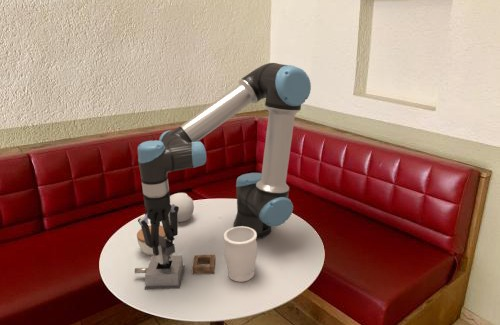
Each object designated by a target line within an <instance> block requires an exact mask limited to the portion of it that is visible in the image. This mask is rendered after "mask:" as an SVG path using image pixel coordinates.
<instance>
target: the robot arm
mask: <svg viewBox="0 0 500 325" xmlns="http://www.w3.org/2000/svg"><path fill="white" fill-rule="evenodd" d="M311 84H312V83H311V79H310V77H309V75H308V74H307V72H306V71H304V69H302V68H301V67H297V66H295V65H291V64H289V65H288V64H281V63H275V62H270V63H265V64H263V65H260V66H258V67H257V68H255V69H254V70H252V71H250V72H249V73H247V74H246V75H244V76H243V77H242V78H241V79H239V81H238V84H237V85H236V86H235V87H234V86H233V88H232V89H231V90H228V92H225V93H224V94H223V95H222V96H220V97H218V99H216V100H215V101H214V102H212V103H210V104H209V105H208V106H206V107H205V108H203V109H202V110H200V111H199V112H198V113H197V114H195V115H194V116H192V117H191V118H190V119H188V120H187V121H185V122H183V124H181V125H180V126H178V127H177V128H175V129H174V130H166V131H164V132H162V133H161V135H160V136H159V139H158V140H146V141H143V142H141V143H140V144H138V146H137V157H138V158H137V162H138V167H139V172H140V173H139V174H140V180H141V186H142V194H143V201H144V202H143V203H144V208H145V212H144V216H143V217H141V218H138V219H137V222H138V223H139V225H140V228H141V229H142V232H143V236H144V240H145V243H146V245H147V246H149V247H150V248H153V254H154V255H155V256H156V261H157V262H158V263H160V264H163V256H162V249H161V245H159V226H160V225H161V226H163V229H164V232H165V236H166V237H167V238H165V239H166V240H168V241H170V242H171V243H173V244H174V240H175V237H177V236H178V233H179V230H178V229H179V227H178V223H179V222H177V213H178V210H179V207H178V206H176V205H174V204H173V205H171V204H170V196H171V195H170V186H169V185H170V184H169V177H168V173H172V172H177V171H182V170H187V169H194V168H197V167H201V166H204V165H205V164H206V162H207V151H206V148H205V147H206V146H205V145H204V144H203V143H202V142H201V140H202V139H204V138H205V137H206V136H207V135H208V134H210V133H211V132H213V131H214V130H216V129H217V128H218V127H220V126H221V125H223V124H224V123H225V122H227V121H228V120H230V119H231V118H232V117H233V116H235V115H236V114H238V113H240V112H241V111H242V110H244V109H245V108H247V106H249V105H250V104H257V103H258V102H259V101H261V100H263V99H265V101H264V102H265V103H264V106H265V108H266V109H267V111H268V117H267V118H268V119H267V127H266V135H265V142H264V143H265V144H264V152H263V160H262V167H261V168H262V169H261V172H250V173H244V174H241V175H240V176H238V177H237V179H236V183H235V184H236V185H235V187H236V211H237V212H236V215H235V219H234V220H233V225H232V226H233V227H239V226H244V227H249V228H252V229H254V230H255V231H256V233H257V238H256V240H257V239H261V238H265V237H267V236H269V234H271V232H272V227H275V228H276V227H278V226H281V225H283V224H284V223H285V222H286V221H288V220H289V219H290V217H291V215H292V213H293V210H294V205H293V202H292V201H291V199H290V198H289V194H290V193H289V192H290V186H289V185H288V184H287V176H288V169H289V161H290V154H291V147H292V146H291V145H292V141H293V132H294V124H295V118H296V115H297V114H298V113H299V112H300V111H301V110H302V105H303V104H304V103H306V100H308V99H309V97H310V94H311V88H312V86H311ZM169 212H170V219H169V217H168V214H169ZM148 220H149V221H148ZM149 223H150V225H149ZM149 226H151V233H150V229H149ZM233 227H232V228H233ZM172 256H173V254H171V255H169V259H173V257H172Z"/></svg>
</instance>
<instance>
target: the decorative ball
mask: <svg viewBox="0 0 500 325" xmlns="http://www.w3.org/2000/svg"><path fill="white" fill-rule="evenodd" d="M170 204H171V205H173V204H174V205H176V206H178V207H179V210H178V213H177V222H178V223H184V222H186V221H188V220H189V219H190V218H191V217H192V216H193V213H194V211H195V209H194V208H195V205H194V201H193V198H191V196H189V195H188V194H187V193H186V192H177V193H174V194H171V195H170ZM168 217H169V220H170V212H169V214H168Z"/></svg>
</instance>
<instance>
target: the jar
mask: <svg viewBox="0 0 500 325" xmlns="http://www.w3.org/2000/svg"><path fill="white" fill-rule="evenodd" d="M256 238H257V233H256V231H255V230H254V229H252V228H249V227H244V226H239V227H230V228H229V229H227V230H225V232H224V233H223V239H224V246H223V249H224V250H223V251H224V252H223V253H224V258H225V262H226V266H227V269H228V277H229V278H230V279H231V280H233V281H235V282H240V283H244V282H247V281H250V280H251V279H252V278H254V276H255V271H254V269H255V266H256V263H257V262H256V261H257V257H258V243H257V239H256Z"/></svg>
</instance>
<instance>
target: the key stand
mask: <svg viewBox="0 0 500 325" xmlns="http://www.w3.org/2000/svg"><path fill="white" fill-rule="evenodd" d="M215 265H216V254H194V256H193V261H192V267H191V270H192V275H208V274H209V275H210V274H213V275H214V274H215Z"/></svg>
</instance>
